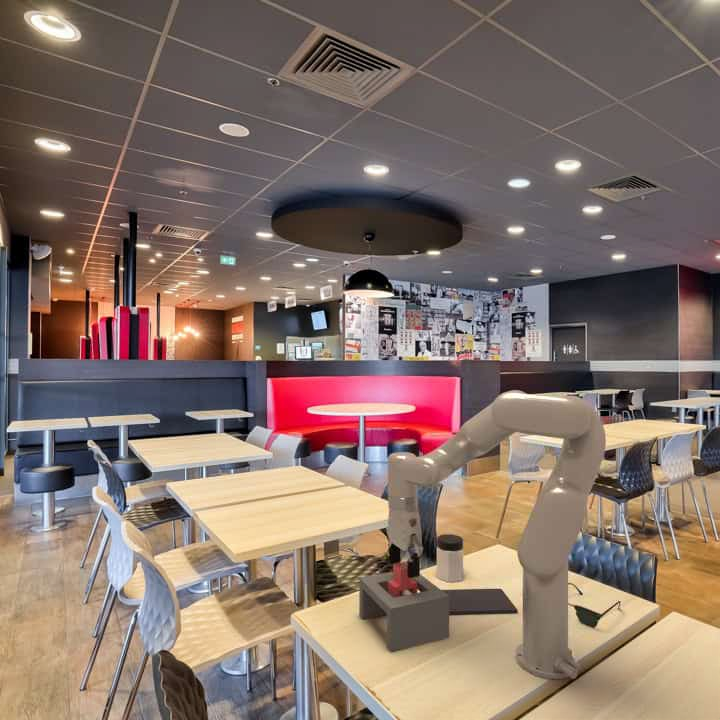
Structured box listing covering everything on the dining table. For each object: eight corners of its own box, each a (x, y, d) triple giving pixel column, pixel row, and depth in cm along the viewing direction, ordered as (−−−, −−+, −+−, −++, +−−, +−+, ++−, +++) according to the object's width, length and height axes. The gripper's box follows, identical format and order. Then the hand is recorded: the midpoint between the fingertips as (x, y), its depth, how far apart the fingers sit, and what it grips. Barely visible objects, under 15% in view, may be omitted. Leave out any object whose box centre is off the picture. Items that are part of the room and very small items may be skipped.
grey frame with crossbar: (449, 637, 119) (449, 595, 119) (390, 652, 113) (390, 608, 113) (412, 604, 135) (412, 568, 136) (359, 616, 129) (359, 577, 129)
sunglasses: (631, 613, 131) (631, 595, 132) (600, 634, 121) (600, 614, 121) (572, 591, 144) (572, 574, 145) (540, 609, 134) (540, 590, 134)
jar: (457, 570, 159) (457, 532, 159) (468, 580, 151) (468, 541, 151) (431, 572, 156) (431, 535, 157) (442, 583, 149) (442, 544, 149)
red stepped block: (417, 619, 124) (417, 566, 124) (395, 624, 121) (394, 571, 121) (409, 611, 127) (409, 561, 127) (387, 617, 125) (387, 565, 125)
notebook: (439, 617, 129) (517, 615, 131) (439, 611, 129) (517, 609, 131) (429, 595, 142) (501, 593, 143) (429, 589, 142) (501, 588, 143)
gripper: (433, 508, 118) (435, 580, 118) (399, 492, 134) (400, 555, 133) (406, 512, 115) (407, 585, 115) (375, 495, 131) (375, 560, 130)
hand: (403, 569), depth 124 cm, fingers open, 9 cm apart
